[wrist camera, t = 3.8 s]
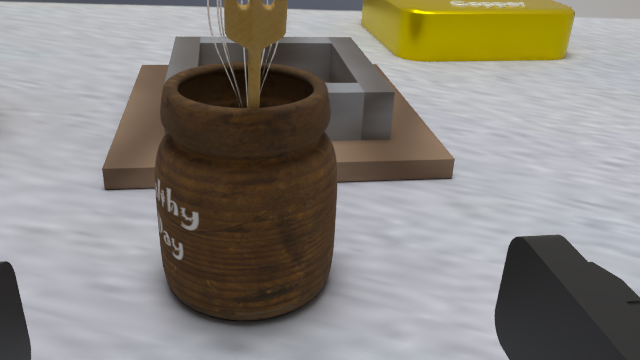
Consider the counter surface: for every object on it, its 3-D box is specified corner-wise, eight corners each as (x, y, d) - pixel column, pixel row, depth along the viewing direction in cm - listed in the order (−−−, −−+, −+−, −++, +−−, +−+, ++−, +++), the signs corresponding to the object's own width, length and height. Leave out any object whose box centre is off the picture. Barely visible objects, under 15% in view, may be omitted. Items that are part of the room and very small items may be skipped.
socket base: (105, 189, 27) (95, 114, 25) (143, 79, 41) (138, 27, 39) (451, 177, 29) (462, 108, 28) (375, 78, 43) (379, 28, 42)
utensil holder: (313, 224, 25) (326, -98, 20) (352, 324, 19) (386, -85, 14) (164, 235, 24) (135, -105, 18) (162, 344, 18) (118, -93, 13)
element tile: (401, 66, 48) (407, 4, 46) (356, 24, 61) (359, -26, 59) (574, 64, 51) (587, 5, 48) (495, 24, 64) (503, -24, 62)
